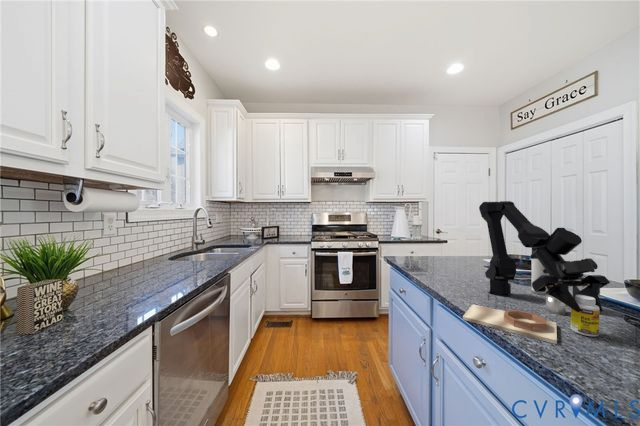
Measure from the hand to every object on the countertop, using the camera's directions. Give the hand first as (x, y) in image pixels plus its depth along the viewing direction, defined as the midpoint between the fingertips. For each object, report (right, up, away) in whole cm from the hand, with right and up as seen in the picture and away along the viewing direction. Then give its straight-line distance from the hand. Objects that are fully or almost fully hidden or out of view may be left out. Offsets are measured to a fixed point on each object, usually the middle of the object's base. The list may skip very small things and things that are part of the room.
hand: (590, 311), depth 69 cm
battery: (+19, -7, +18) cm, 27 cm away
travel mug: (+18, -6, +35) cm, 40 cm away
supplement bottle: (0, -7, +1) cm, 7 cm away
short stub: (+6, -7, +16) cm, 19 cm away
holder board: (-17, -7, +8) cm, 20 cm away
